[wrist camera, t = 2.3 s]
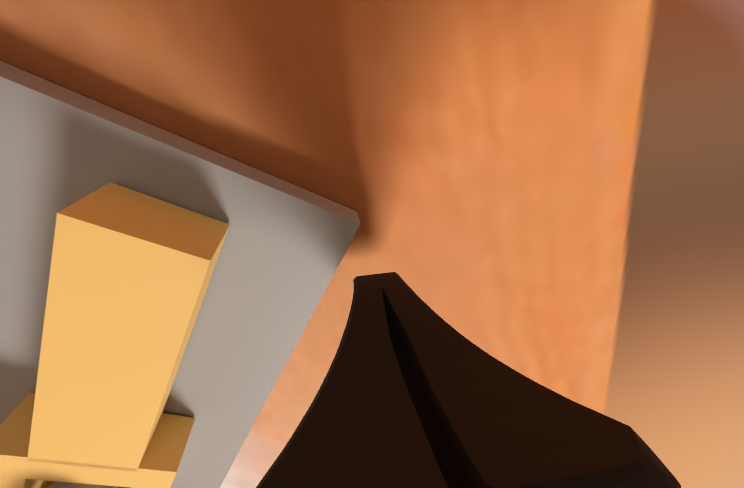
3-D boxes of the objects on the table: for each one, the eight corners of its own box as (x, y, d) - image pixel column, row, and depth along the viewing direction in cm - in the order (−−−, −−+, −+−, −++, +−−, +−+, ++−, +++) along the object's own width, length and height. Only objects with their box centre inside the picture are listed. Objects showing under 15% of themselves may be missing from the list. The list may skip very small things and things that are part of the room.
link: (165, 489, 15) (145, 544, 13) (19, 477, 13) (-26, 540, 11) (270, 239, 10) (261, 276, 8) (54, 162, 8) (-19, 189, 6)
